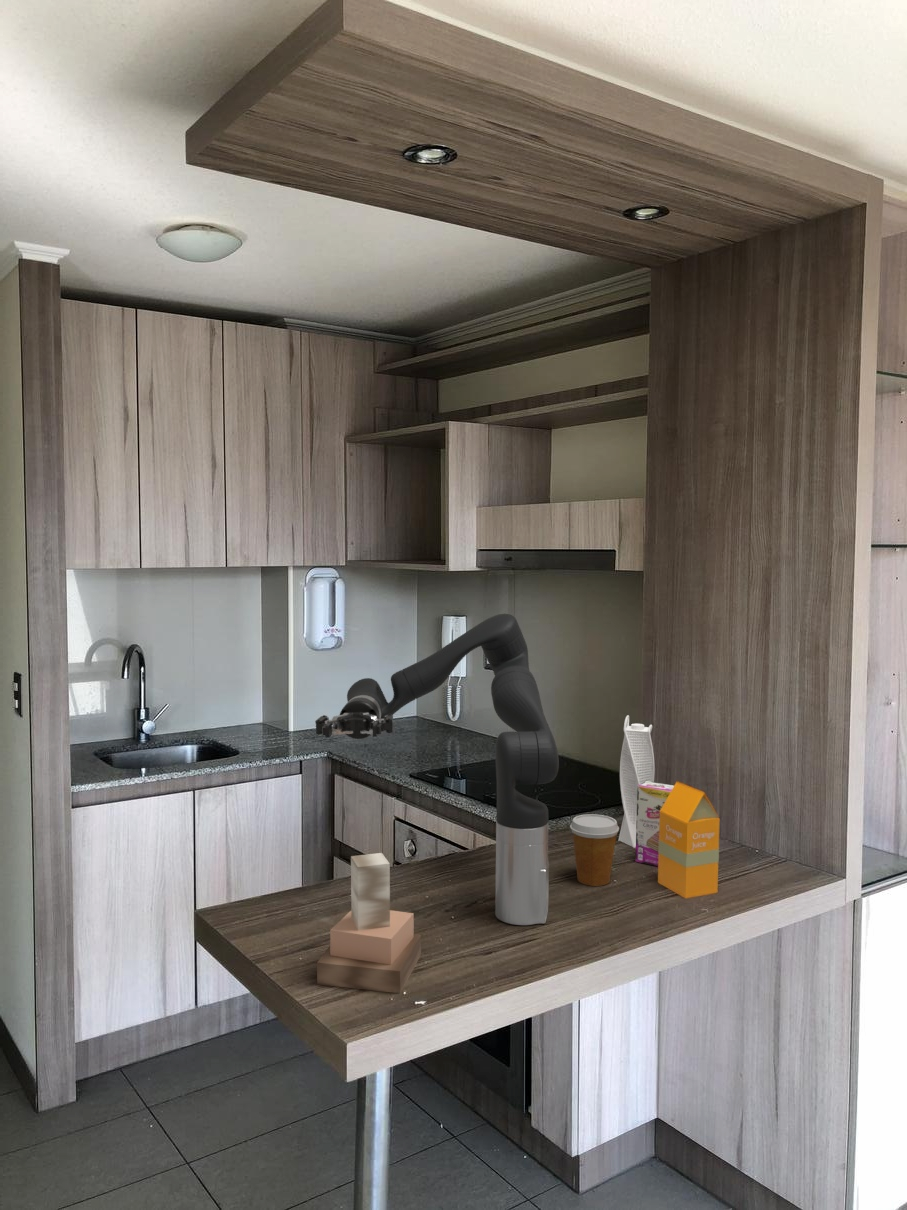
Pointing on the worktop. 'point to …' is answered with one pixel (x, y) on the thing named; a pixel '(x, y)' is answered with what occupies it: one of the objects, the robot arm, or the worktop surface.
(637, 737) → the skyscraper
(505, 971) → the worktop surface
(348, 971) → the tower base block
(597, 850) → the disposable coffee cup
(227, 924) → the worktop surface
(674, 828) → the orange juice
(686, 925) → the worktop surface
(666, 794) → the candy bar box
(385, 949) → the tower top block
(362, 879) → the cream block
